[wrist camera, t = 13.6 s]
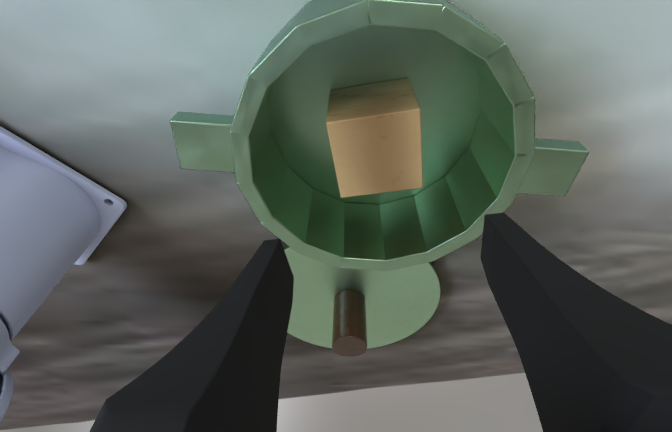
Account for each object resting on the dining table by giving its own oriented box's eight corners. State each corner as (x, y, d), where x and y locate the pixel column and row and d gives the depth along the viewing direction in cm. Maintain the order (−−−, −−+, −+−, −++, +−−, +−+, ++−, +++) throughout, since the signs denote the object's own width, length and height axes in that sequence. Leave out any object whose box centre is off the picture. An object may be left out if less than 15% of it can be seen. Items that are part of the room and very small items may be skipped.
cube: (341, 158, 21) (340, 198, 18) (329, 89, 19) (325, 122, 16) (412, 148, 21) (423, 188, 18) (408, 77, 18) (420, 108, 15)
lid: (257, 214, 25) (239, 271, 21) (459, 229, 25) (480, 287, 21) (267, 333, 33) (255, 390, 29) (417, 343, 33) (427, 400, 29)
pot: (185, -36, 16) (125, -22, 12) (592, -2, 16) (678, 23, 12) (222, 199, 24) (194, 258, 20) (496, 218, 24) (528, 281, 20)
